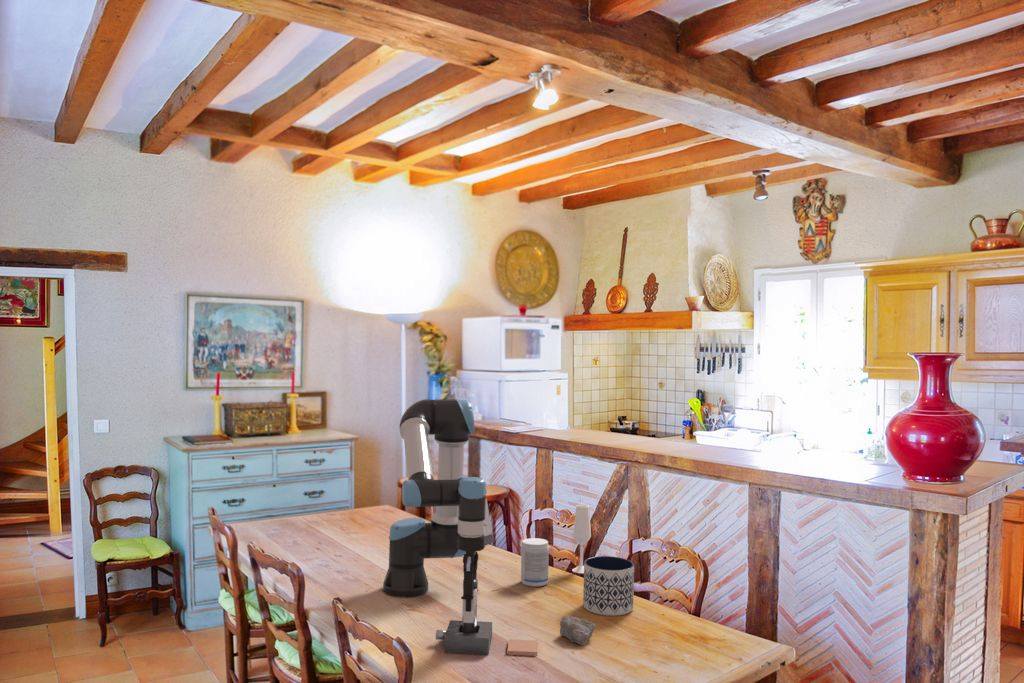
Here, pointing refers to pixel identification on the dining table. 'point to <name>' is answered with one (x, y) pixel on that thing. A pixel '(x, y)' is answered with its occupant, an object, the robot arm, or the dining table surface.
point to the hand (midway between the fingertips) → (469, 619)
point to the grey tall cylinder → (473, 626)
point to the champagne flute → (581, 531)
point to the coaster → (522, 647)
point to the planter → (608, 585)
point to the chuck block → (466, 638)
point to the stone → (576, 629)
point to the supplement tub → (534, 562)
